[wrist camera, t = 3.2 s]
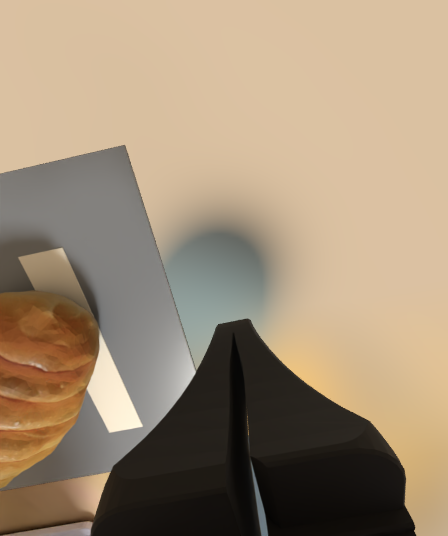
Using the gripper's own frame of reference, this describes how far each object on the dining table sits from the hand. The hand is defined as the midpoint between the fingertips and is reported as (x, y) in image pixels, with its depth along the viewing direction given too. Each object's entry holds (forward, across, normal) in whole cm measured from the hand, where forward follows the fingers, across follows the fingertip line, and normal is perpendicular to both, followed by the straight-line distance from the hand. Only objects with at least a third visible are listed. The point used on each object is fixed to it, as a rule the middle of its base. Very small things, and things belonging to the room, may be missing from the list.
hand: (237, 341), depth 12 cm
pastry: (+1, +10, 0) cm, 10 cm away
